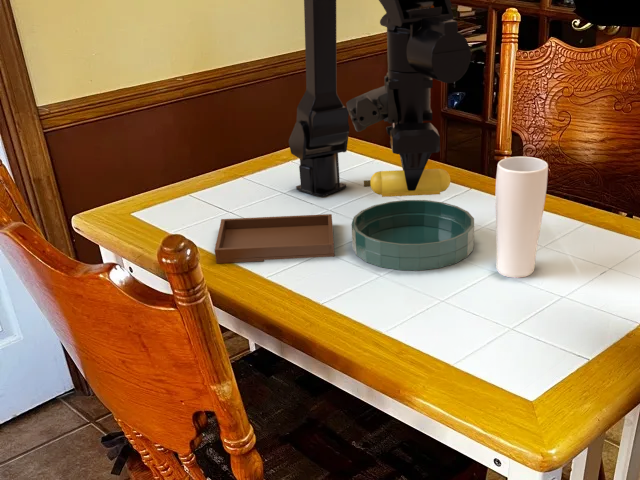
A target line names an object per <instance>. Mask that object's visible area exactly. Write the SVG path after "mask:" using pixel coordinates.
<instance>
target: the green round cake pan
mask: <svg viewBox="0 0 640 480" xmlns="http://www.w3.org/2000/svg"><path fill="white" fill-rule="evenodd" d="M350 226H351V240H352V250H353V251H354V253H355V256H356V257H357V258H360V259H361V260H362V261H364V262H365V263H367V264H371V265H374V266H376V267H379V268H385V269H392V270H396V271H426V270H434V269H441V268H444V267H448V266H452V265H455V264H457V263H459V262H461V261H463V260H465V259H466V258H468V257H469V255H470V254H471V253H472V252H473V251H474V237H475V218H474V216H473V215H472V214H471V213H470V212H469V211H468V210H465V209H464V208H462V207H460V206H457V205H455V204H451V203H447V202H443V201H435V200H428V199H403V200H393V201H392V200H391V201H386V202H382V203H378V204H374V205H371V206H369V207H367V208H365V209H361V210H360V211H359V212H358V213H357V214H355V215H354V216H353V219H352V221H351V225H350Z"/></svg>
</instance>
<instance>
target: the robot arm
mask: <svg viewBox="0 0 640 480" xmlns="http://www.w3.org/2000/svg"><path fill="white" fill-rule="evenodd" d="M378 1H379V3H380V5H381V6H382V7H383V9H384V11H385V13H384V14H383V16H381V18H380V19H379V24H380V26H382V27H385V28H386V46H387V48H386V49H387V51H386V52H387V72H386V75H384V85H382V86H380V87H378V88H374V89H372V90H369V91H367V92H365V93H362V94H360V95H358V96H355V97H353V98H351V99H349V100H348V101H346V103H345V105H346V106H345V105H344V104H343V102H342V100H341V99H340V97H339V95H338V89H337V86H338V85H337V84H338V83H337V82H338V81H337V79H338V78H337V74H338V73H337V71H338V70H337V65H338V64H337V59H338V57H337V56H338V55H337V49H338V47H337V0H303V11H304V12H303V13H304V14H303V15H304V50H305V52H304V53H305V81H306V83H305V84H306V86H305V88H306V89H305V92H304V93H303V96H302V98H301V99H300V101H299V103H298V105H297V107H296V122H295V124H294V126H293V129H292V131H291V134H290V135H289V139H288V145H289V150H290V154H291V155H293V156H294V157H296V158H297V159H299V165H298V168H299V169H298V171H299V181H300V184H299V185H296V186H295V190H296V191H300V192H303V193H307V194H310V195H313V196H315V197H316V196H317V197H321V198H323V197H326V196H328V195H331V194H333V193H337V192H338V191H341V190H344V189H346V188H347V184H346V183H343V182H340V179H341V178H340V163H339V154H341V153H347V151H348V143H349V134H350V124H349V117H350V119H351V122H352V125H353V127H354V130H355V131H356V132H362V131H365V130H366V129H367V128H368V127H371V126H372V125H375V124H377V123H379V122H382V121H384V122H387V123H388V124H391V125H389V126H385V130H386V134H387V135H388V137H390V141H389V144H390V148H391V151H392V154H395V155H399V157H400V163H401V167H402V170H404V174H405V179H406V184H407V189H408V190H409V191H414V190H415V189H416V187H417V185H418V182H419V180H420V178H421V175H422V173H423V171H424V169H426V166H427V164H428V161H429V159H430V157H431V155H432V154H437V153H439V152H441V136H440V134H439V131H438V129H437V128H436V127H435V126H434V125H433V124H432V123H431V122H432V121H433V111H432V108H431V101H432V100H431V96H432V95H431V89H433V88H434V87H433V86H434V85H433V84H434V83H433V82H434V80H436V81H439V82H441V83H444V84H453V83H455V82H458V81H459V80H460V79H462V78H463V77H464V76H465V75H466V73H467V71H468V69H469V67H470V63H471V59H472V50H471V49H470V44H469V42H468V41H467V38H466V37H465V36H464V35H463V34H462V33H460V32H459V31H458V29H459V28H458V27H459V23H458V21H457V20H455V19H454V14H453V10H452V6H453V4H452V1H451V0H378ZM430 121H431V122H430Z"/></svg>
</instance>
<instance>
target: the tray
mask: <svg viewBox="0 0 640 480" xmlns="http://www.w3.org/2000/svg"><path fill="white" fill-rule="evenodd" d="M334 242H335V241H334V227H333V214H332V213H326V214H325V213H324V214H323V213H322V214H303V215H282V216H281V215H279V216H260V217H257V216H256V217H239V218H238V217H237V218H221V220H220V224H219V228H218V232H217V238H216V242H215V245H214V246H215V247H214V255H215V261H216V264H231V263H232V264H233V263H251V262H253V263H254V262H265V261H270V260H289V259H290V260H291V259H292V260H293V259H310V258H311V259H312V258H313V259H314V258H334V257H335V243H334Z"/></svg>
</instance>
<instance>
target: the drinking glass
mask: <svg viewBox="0 0 640 480" xmlns="http://www.w3.org/2000/svg"><path fill="white" fill-rule="evenodd" d="M496 166H497V167H496V175H495V191H494V193H495V194H494V195H495V196H494V198H495V199H494V200H495V201H494V202H495V231H496V233H495V234H496V235H495V237H496V265H495V266H496V268H495V269H496V271H497V272H498V273H499V275H501V276H503V277H507V278H513V279H520V278H526V277H529V276H530V275H532V274H533V273H534V271H535V267H536V256H537V251H538V250H537V249H538V243H539V238H540V232H541V226H542V221H543V215H544V210H545V205H546V199H547V190H548V180H549V179H548V178H549V177H548V176H549V163H548V162H547V161H545V160H544V159H541V158H538V157H533V156H523V155H522V156H511V157H505V158H502V159H501V160H499V161H498V162H497V165H496Z"/></svg>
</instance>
